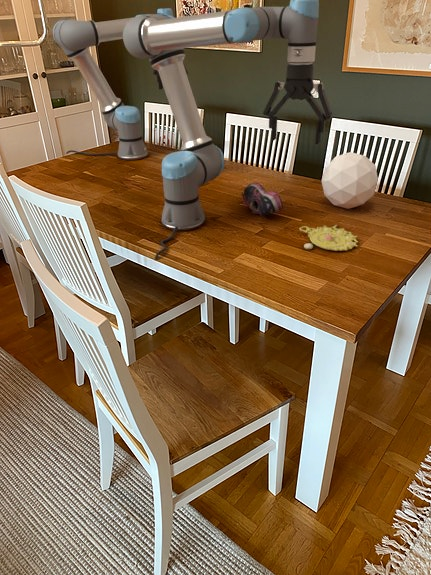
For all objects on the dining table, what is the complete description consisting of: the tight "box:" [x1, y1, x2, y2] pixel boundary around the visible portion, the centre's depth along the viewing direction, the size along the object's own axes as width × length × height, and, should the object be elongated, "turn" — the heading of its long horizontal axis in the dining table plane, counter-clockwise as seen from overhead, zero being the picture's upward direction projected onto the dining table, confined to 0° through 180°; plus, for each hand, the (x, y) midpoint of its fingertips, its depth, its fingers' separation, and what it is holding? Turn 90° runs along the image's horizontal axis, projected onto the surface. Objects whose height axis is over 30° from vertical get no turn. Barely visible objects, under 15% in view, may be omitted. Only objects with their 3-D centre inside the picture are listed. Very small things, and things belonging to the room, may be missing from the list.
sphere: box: [320, 151, 379, 210], centre depth 160 cm, size 19×20×20 cm
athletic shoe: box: [238, 182, 284, 217], centre depth 160 cm, size 11×22×12 cm
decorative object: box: [299, 224, 359, 252], centre depth 141 cm, size 21×2×20 cm
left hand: (171, 89), depth 236 cm, fingers open, 13 cm apart
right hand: (295, 141), depth 134 cm, fingers open, 13 cm apart
